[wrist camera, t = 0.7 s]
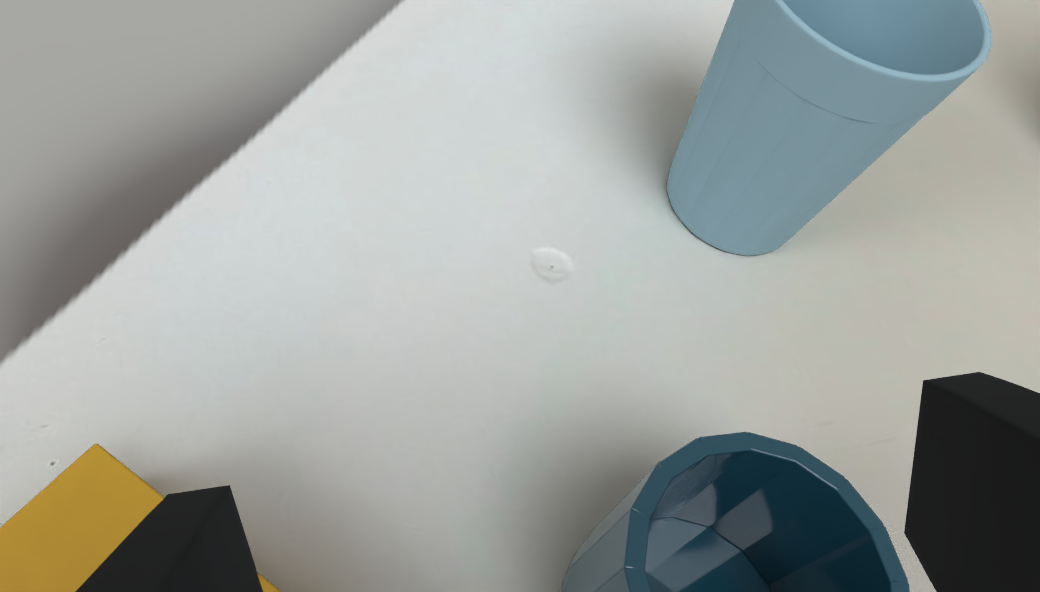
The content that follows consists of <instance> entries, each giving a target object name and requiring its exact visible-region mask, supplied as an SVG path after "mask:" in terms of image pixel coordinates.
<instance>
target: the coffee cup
mask: <svg viewBox="0 0 1040 592" xmlns="http://www.w3.org/2000/svg"><path fill="white" fill-rule="evenodd" d="M907 582H908V579H907V577H906V575H905V572H904V570H903V568H902V565H901V563H900V560H899V558H898V556H897V553H896V551H895V549H894V546H893V544H892V542H891V539H890V537H889V534H888V532H887V530H886V527H885V526H883V523H882V521H881V520H880V519H879V518H878V516H877V515H876V514H875V513H874V512H873V510H872V509H871V508H870V507H869V506H868V504H867V503H866V502H865V501H864V499H863V498H862V497H861V496H860V495H859V493H858V492H857V491H856V490H855V488H854V487H853V486H852V485H851V484H850V482H849V481H848V480H847V479H845V477H844V476H842V475H841V474H839V473H838V472H836V471H835V470H833V469H832V468H830V467H829V466H827V465H826V464H825V463H823V462H822V461H820V460H819V459H817V458H816V457H814V456H813V455H811V454H810V453H808V452H807V451H805V450H804V449H802V448H801V447H798V446H797V445H793V444H790V443H786V442H782V441H779V440H775V439H772V438H768V437H764V436H761V435H757V434H753V433H750V432H748V433H747V432H740V433H732V434H723V435H715V436H707V437H699V438H697V439H695V440H693V441H691V442H690V443H688V444H687V445H685V446H684V447H682V448H681V449H679V450H677V451H676V452H674V453H673V454H671V455H670V456H668V457H667V458H665V459H663V460H662V461H660V462H659V463H658V464H657V465H656V466H655V467H654V468H653V469H652V470H651V471H650V472H649V473H648V474H647V475H646V476H645V477H644V478H643V479H642V480H641V481H640V482H639V483H638V484H637V485H636V486H635V487H634V488H633V489H632V490H631V491H630V492H629V493H628V494H627V495H626V497H625V498H624V499H623V500H622V501H621V502H620V503H619V504H618V505H617V506H616V507H615V508H614V509H613V510H612V511H611V512H610V513H609V514H608V515H607V516H606V517H605V518H604V519H603V520H602V521H601V522H600V523H599V524H598V525H597V526H596V527H595V528H594V529H593V530H592V532H591V533H590V535H589V537H588V538H587V540H586V541H585V542H584V543H583V544H582V546H581V547H580V549H579V550H578V551H577V553H576V554H575V556H574V558H573V560H572V562H571V564H570V566H569V568H568V570H567V573H566V576H565V579H564V581H563V585H562V590H561V592H910V591H909V583H907Z"/></svg>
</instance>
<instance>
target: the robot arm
mask: <svg viewBox="0 0 1040 592" xmlns="http://www.w3.org/2000/svg"><path fill="white" fill-rule="evenodd" d="M904 533H905V535H906V537H907V538H908V540H909V542H910V544H911V546H912V548H913V550H914V551H915V553H916V555H917V557H918V559H919V561H920V563H921V564H922V566H923V568H924V570H925V572H926V574H927V575H928V577H929V579H930V581H931V583H932V584H933V586H934V588H935V589H936V591H937V592H1040V393H1037V392H1035V391H1032V390H1029V389H1027V388H1024V387H1022V386H1019V385H1016V384H1013V383H1011V382H1008V381H1005V380H1002V379H999V378H996V377H993V376H990V375H987V374H984V373H981V372H977V373H970V374H963V375H957V376H950V377H943V378H937V379H930V380H924V381H923V387H922V395H921V403H920V411H919V419H918V427H917V435H916V443H915V451H914V460H913V468H912V476H911V484H910V492H909V500H908V508H907V516H906V524H905V532H904ZM75 592H263V590H262V587H261V583H260V580H259V577H258V574H257V571H256V568H255V564H254V561H253V558H252V555H251V552H250V548H249V545H248V542H247V539H246V536H245V533H244V529H243V526H242V523H241V520H240V517H239V513H238V510H237V507H236V504H235V501H234V498H233V494H232V491H231V488H230V485H228V486H221V487H215V488H208V489H201V490H195V491H188V492H182V493H175V494H168V495H167V496H166V497H165V498H164V499H163V500H162V501H161V502H160V503H159V504H158V505H157V506H156V507H155V508H154V509H153V510H152V511H151V512H150V513H149V514H148V515H147V516H146V517H145V518H144V519H143V520H142V521H141V522H140V523H139V524H138V525H137V526H136V527H135V529H134V530H133V531H132V532H131V533H130V534H129V535H128V536H127V537H126V538H125V539H124V540H123V541H122V542H121V543H120V544H119V546H118V547H117V548H116V549H115V550H114V551H113V552H112V553H111V554H110V555H109V556H108V557H107V558H106V559H105V561H104V562H103V563H102V564H101V565H100V566H99V567H98V568H97V569H96V570H95V571H94V572H93V573H92V574H91V576H90V577H89V578H88V579H87V580H86V581H85V582H84V583H83V584H82V585H81V586H80V587H79V588H78V589H77V590H76V591H75Z"/></svg>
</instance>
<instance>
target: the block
mask: <svg viewBox="0 0 1040 592" xmlns="http://www.w3.org/2000/svg"><path fill="white" fill-rule="evenodd" d="M163 499H164V497H163V496H162V495H161V494H159V493H158V492H157V491H156V490H154V489H153V488H152V487H151V486H149V485H148V484H147V483H146V482H144V481H143V480H142V479H141V478H139V477H138V476H137V475H136V474H135V473H133V472H132V471H131V470H130V469H128V468H127V467H126V466H125V465H123V464H122V463H121V462H120V461H118V460H117V459H116V458H115V457H113V456H112V455H111V454H110V453H108V452H107V451H106V450H105V449H103V448H102V447H101V446H100V445H99V444H94V445H93V446H92V447H91V448H90V449H88V450H87V451H86V452H85V453H84V454H83V455H82V456H81V457H79V458H78V459H77V460H76V461H75V462H74V463H73V464H72V465H70V466H69V467H68V468H67V469H66V470H65V471H64V472H63V473H61V474H60V475H59V476H58V477H57V478H56V479H55V480H54V481H52V482H51V483H50V484H49V485H48V486H47V487H46V488H45V489H43V490H42V491H41V492H40V493H39V494H38V495H37V496H35V497H34V498H33V499H32V500H31V501H30V502H29V503H28V504H26V505H25V506H24V507H23V508H22V509H21V510H20V511H19V512H17V513H16V514H15V515H14V516H13V517H12V518H11V519H10V520H8V521H7V522H6V523H5V524H4V525H3V526H2V527H1V528H0V592H75V591H76V590H77V589H78V588H79V587H80V586H81V585H82V584H83V583H84V582H85V581H86V580H87V579H88V578H89V577H90V576H91V574H92V573H93V572H94V571H95V570H96V569H97V568H98V567H99V566H100V565H101V564H102V563H103V562H104V561H105V559H106V558H107V557H108V556H109V555H110V554H111V553H112V552H113V551H114V550H115V549H116V548H117V547H118V546H119V544H120V543H121V542H122V541H123V540H124V539H125V538H126V537H127V536H128V535H129V534H130V533H131V532H132V531H133V530H134V529H135V527H136V526H137V525H138V524H139V523H140V522H141V521H142V520H143V519H144V518H145V517H146V516H147V515H148V514H149V513H150V512H151V511H152V510H153V509H154V508H155V507H156V506H157V505H158V504H159V503H160V502H161V501H162V500H163ZM257 574H258V577H259V580H260V583H261V587H262V590H263V592H281V591H280V590H279V589H277V588H276V587H275V586H274V585H272V584H271V583H270V582H269V581H267V580H266V579H265V578H264V577H262V576H261V575H260V574H259V573H257Z"/></svg>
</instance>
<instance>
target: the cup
mask: <svg viewBox="0 0 1040 592" xmlns="http://www.w3.org/2000/svg"><path fill="white" fill-rule="evenodd" d="M990 47H991V29H990V24H989V21H988V18H987V15H986V13H985V10H984V8H983V7H982V5H981V3H980V1H979V0H735V1H734V3H733V6H732V9H731V11H730V14H729V16H728V19H727V22H726V24H725V27H724V29H723V32H722V34H721V37H720V40H719V42H718V45H717V47H716V50H715V53H714V55H713V58H712V60H711V63H710V66H709V68H708V71H707V73H706V76H705V78H704V81H703V84H702V86H701V89H700V91H699V94H698V97H697V99H696V102H695V104H694V107H693V110H692V112H691V115H690V117H689V120H688V123H687V125H686V128H685V130H684V133H683V136H682V138H681V141H680V144H679V146H678V149H677V151H676V154H675V157H674V159H673V162H672V165H671V168H670V171H669V177H668V180H667V191H668V196H669V199H670V202H671V205H672V207H673V209H674V211H675V213H676V214H677V216H678V217H679V219H680V220H681V221H682V222H683V223H684V225H685V226H686V227H687V228H688V229H689V230H690V231H691V232H692V233H693V234H694V235H696V236H697V237H698V238H700V239H702V240H703V241H705V242H706V243H708V244H710V245H712V246H714V247H715V248H718V249H720V250H723V251H726V252H730V253H734V254H740V255H749V256H752V255H760V254H764V253H768V252H772V251H774V250H776V249H778V248H779V247H781V246H782V245H783V244H784V243H785V242H786V241H787V240H789V239H790V238H791V237H792V236H793V235H794V234H795V233H796V232H798V231H799V230H800V229H801V228H802V227H803V226H804V225H805V224H806V223H807V222H809V221H810V220H811V219H812V218H813V217H814V216H815V215H816V214H817V213H818V212H819V211H821V210H822V209H823V208H824V207H825V206H826V205H827V204H828V203H829V202H830V201H832V200H833V199H834V198H835V197H836V196H837V195H838V194H839V193H840V192H841V191H842V190H844V189H845V188H846V187H847V186H848V185H849V184H850V183H851V182H852V181H853V180H854V179H856V178H857V177H858V176H859V175H860V174H861V173H862V172H863V171H864V170H865V169H867V168H868V167H869V166H870V165H871V164H872V163H873V162H874V161H875V160H876V159H877V158H879V157H880V156H881V155H882V154H883V153H884V152H885V151H886V150H887V149H888V148H890V147H891V146H892V145H893V144H894V143H895V142H896V141H897V140H898V139H899V138H900V137H902V136H903V135H904V134H905V133H906V132H907V131H908V130H909V129H910V128H911V127H913V126H914V125H915V124H916V123H917V122H918V121H919V120H920V119H921V118H922V117H923V116H925V115H926V114H928V113H929V112H930V111H932V110H933V109H934V108H935V107H936V106H937V105H938V104H939V103H941V102H942V101H943V100H944V99H945V98H946V97H947V96H948V95H949V94H951V93H952V92H953V91H954V90H955V89H956V88H957V87H958V86H959V85H960V84H962V83H963V82H964V81H965V80H966V79H967V78H968V77H969V76H970V75H971V74H973V73H974V72H975V71H976V70H977V69H978V68H979V67H980V66H981V65H982V64H983V62H984V61H985V59H986V58H987V56H988V53H989V51H990Z"/></svg>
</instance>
